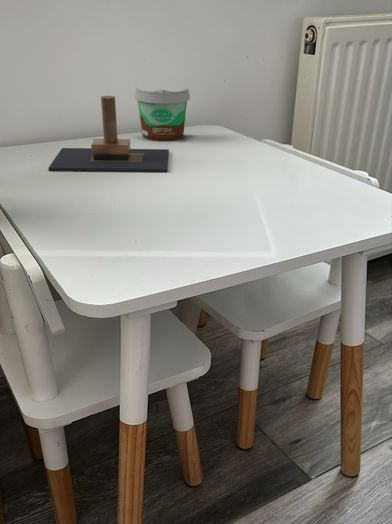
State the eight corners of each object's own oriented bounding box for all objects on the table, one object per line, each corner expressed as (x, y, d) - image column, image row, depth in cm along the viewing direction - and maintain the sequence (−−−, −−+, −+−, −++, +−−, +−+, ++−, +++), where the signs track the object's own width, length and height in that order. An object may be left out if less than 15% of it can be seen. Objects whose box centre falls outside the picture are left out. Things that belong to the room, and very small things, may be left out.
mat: (48, 171, 103) (48, 167, 103) (62, 150, 115) (61, 147, 115) (167, 172, 104) (167, 168, 104) (168, 152, 116) (168, 149, 115)
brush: (92, 160, 107) (87, 98, 101) (95, 154, 111) (90, 94, 105) (128, 160, 107) (125, 99, 101) (130, 154, 111) (127, 94, 105)
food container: (140, 143, 121) (138, 93, 115) (135, 136, 126) (133, 88, 120) (195, 141, 123) (196, 92, 118) (189, 134, 128) (189, 87, 123)
